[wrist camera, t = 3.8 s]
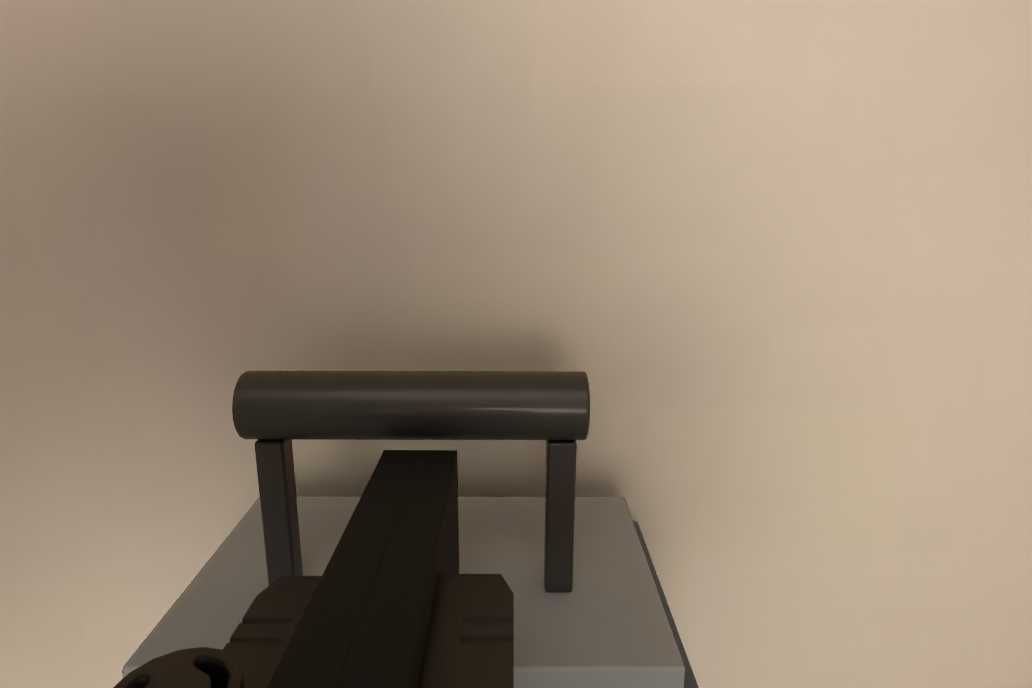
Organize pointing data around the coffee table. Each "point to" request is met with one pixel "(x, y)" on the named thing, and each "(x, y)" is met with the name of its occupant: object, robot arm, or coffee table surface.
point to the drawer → (482, 521)
